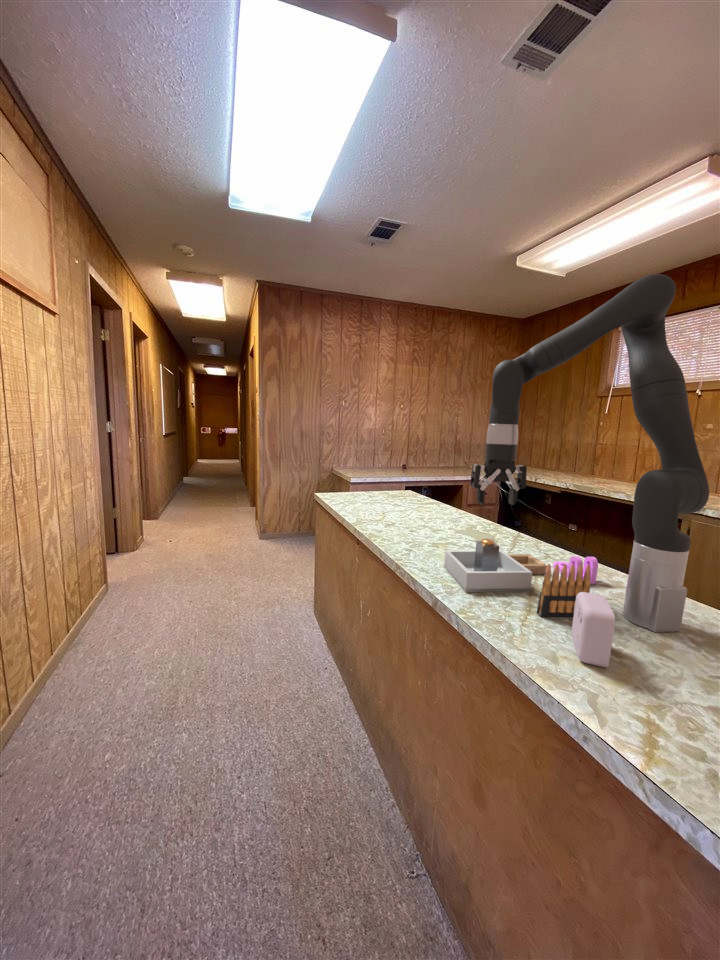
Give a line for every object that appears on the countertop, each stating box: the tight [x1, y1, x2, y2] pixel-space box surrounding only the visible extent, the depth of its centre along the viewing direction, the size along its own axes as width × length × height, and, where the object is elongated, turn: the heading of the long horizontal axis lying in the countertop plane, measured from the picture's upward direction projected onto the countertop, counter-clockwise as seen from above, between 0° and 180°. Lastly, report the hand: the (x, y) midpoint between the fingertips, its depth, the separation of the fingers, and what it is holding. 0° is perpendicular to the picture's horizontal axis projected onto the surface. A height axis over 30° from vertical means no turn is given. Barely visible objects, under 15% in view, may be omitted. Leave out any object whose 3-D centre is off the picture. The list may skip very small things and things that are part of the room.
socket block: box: [506, 553, 548, 575], centre depth 110 cm, size 9×9×2 cm
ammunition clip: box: [536, 563, 592, 619], centre depth 83 cm, size 11×2×12 cm, turn 92°
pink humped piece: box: [552, 555, 599, 585], centre depth 107 cm, size 13×6×7 cm, turn 2°
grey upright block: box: [474, 538, 500, 571], centre depth 101 cm, size 4×4×10 cm
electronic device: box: [571, 592, 616, 669], centre depth 70 cm, size 10×5×10 cm, turn 159°
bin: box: [443, 550, 533, 593], centre depth 102 cm, size 16×17×5 cm
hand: (496, 504), depth 99 cm, fingers open, 8 cm apart
